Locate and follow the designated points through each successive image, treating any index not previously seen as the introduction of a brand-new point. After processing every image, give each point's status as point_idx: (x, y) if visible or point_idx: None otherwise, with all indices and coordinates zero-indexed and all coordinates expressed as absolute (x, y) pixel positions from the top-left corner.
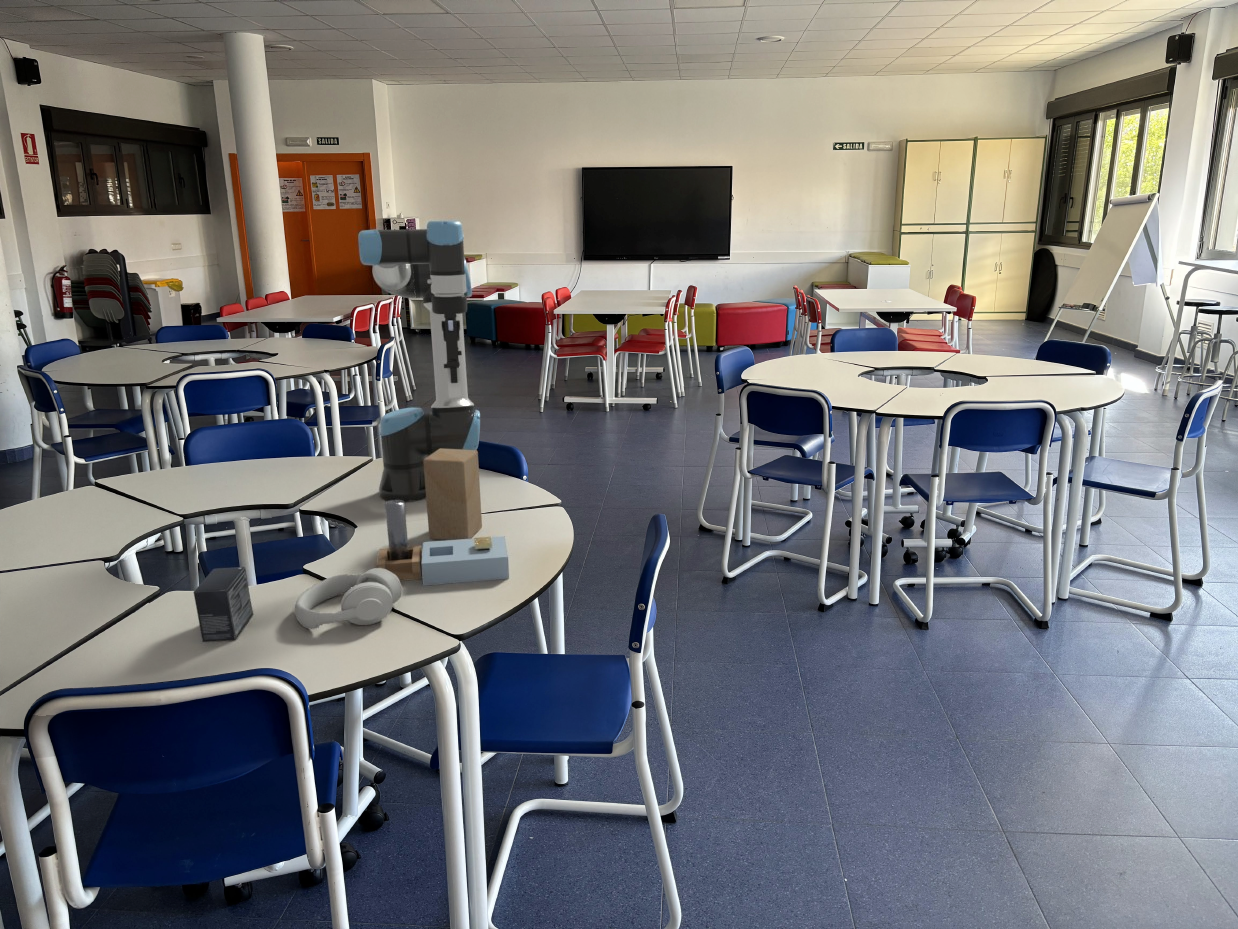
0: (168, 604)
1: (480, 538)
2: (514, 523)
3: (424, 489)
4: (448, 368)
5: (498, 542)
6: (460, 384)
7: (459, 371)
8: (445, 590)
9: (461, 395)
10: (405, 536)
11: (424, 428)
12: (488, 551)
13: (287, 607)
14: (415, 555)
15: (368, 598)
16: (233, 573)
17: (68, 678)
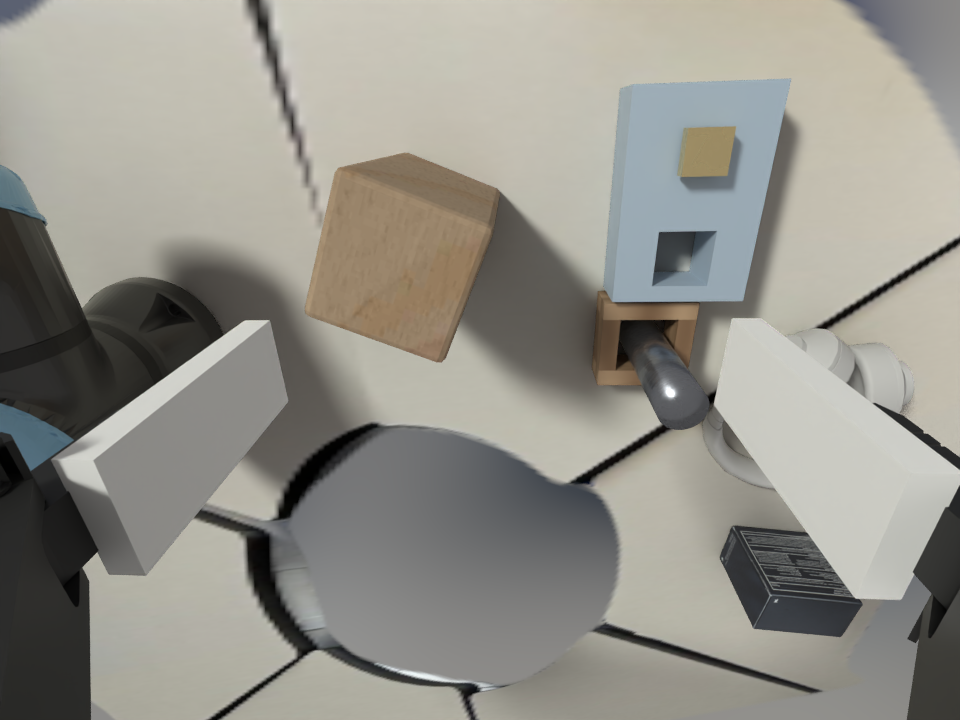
0: (649, 615)
1: (691, 159)
2: (382, 53)
3: (182, 307)
4: (903, 581)
5: (675, 105)
6: (817, 366)
7: (919, 445)
8: (765, 239)
9: (740, 321)
10: (671, 349)
11: (27, 368)
12: None
13: (723, 488)
14: (659, 313)
15: (906, 392)
16: (796, 605)
17: (825, 658)
